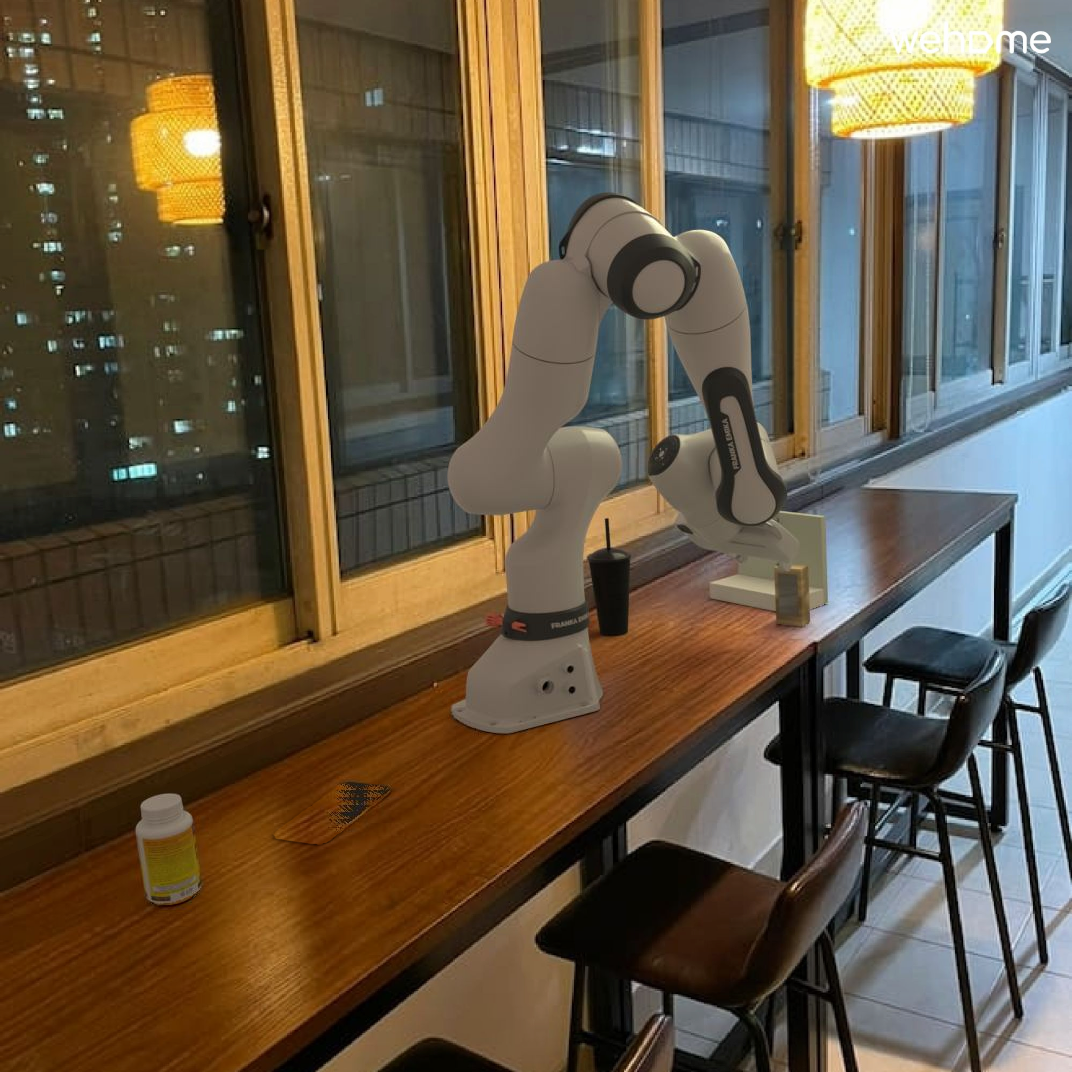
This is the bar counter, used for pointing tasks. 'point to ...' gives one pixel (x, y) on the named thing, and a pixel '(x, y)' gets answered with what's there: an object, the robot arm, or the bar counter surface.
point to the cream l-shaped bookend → (758, 574)
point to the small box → (792, 596)
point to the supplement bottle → (167, 850)
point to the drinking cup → (611, 586)
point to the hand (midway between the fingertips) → (765, 563)
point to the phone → (360, 800)
